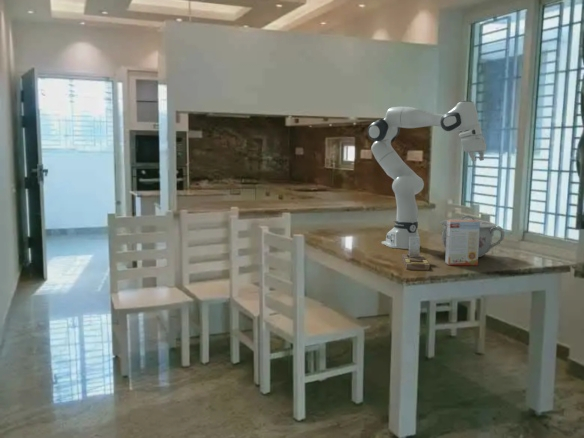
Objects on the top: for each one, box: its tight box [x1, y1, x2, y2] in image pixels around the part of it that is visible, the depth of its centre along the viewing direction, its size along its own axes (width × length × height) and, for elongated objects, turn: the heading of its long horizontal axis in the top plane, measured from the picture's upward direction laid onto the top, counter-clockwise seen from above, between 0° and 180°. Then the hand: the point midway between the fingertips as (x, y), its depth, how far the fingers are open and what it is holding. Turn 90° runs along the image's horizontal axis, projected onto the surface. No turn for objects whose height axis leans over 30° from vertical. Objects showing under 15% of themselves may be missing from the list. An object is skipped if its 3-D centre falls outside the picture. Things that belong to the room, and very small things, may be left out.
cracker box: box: [444, 219, 480, 266], centre depth 270 cm, size 14×6×21 cm, turn 92°
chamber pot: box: [439, 214, 505, 258], centre depth 292 cm, size 28×28×21 cm
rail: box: [401, 253, 431, 271], centre depth 269 cm, size 24×10×3 cm, turn 174°
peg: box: [407, 236, 421, 258], centre depth 275 cm, size 4×4×12 cm
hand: (478, 160), depth 282 cm, fingers open, 8 cm apart
